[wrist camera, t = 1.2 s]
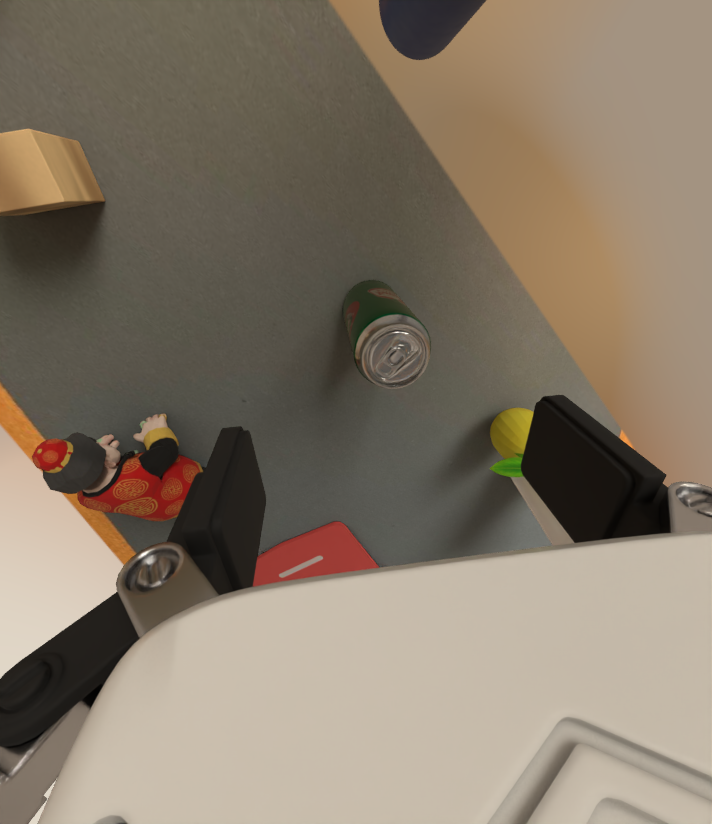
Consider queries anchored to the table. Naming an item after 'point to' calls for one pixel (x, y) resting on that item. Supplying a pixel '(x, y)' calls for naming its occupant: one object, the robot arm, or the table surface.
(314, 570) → the desk lamp
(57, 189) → the wooden block
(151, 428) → the figurine
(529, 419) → the lemon
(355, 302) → the soda can
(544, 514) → the cup
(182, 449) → the table surface
